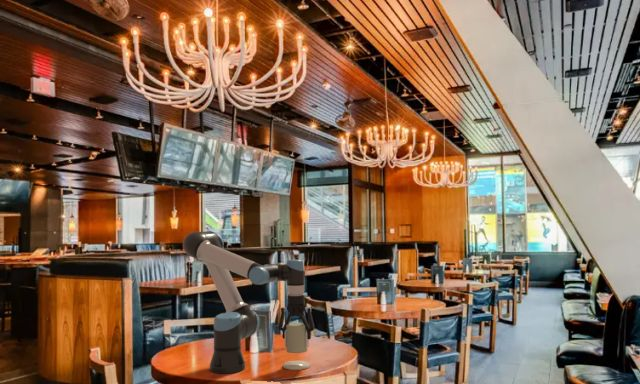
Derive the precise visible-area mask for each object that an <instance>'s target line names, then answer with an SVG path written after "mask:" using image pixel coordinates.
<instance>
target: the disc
mask: <svg viewBox="0 0 640 384" xmlns="http://www.w3.org/2000/svg"><path fill="white" fill-rule="evenodd" d="M282 368H283V369H285V370H288V371H289V370H290V371H302V369H303V370H307V369H309V368H311V362H309V361H306V360H289V361H285V362H284V363H282Z"/></svg>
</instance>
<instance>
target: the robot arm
mask: <svg viewBox="0 0 640 384" xmlns="http://www.w3.org/2000/svg"><path fill="white" fill-rule="evenodd" d="M224 244H225V243H224V239H223V237H222V236H221V235H220V234H219V233H217V232H215V231H211V230H206V231H191V232H189V233H188V234H187V235H186V236H185V237H184V239H183V242H182V248H183V250H184V251H183V252H185V253H186V255H187V256H189V257H191V258H194V259H196V260H198V261H199V262H200V263H201V264H203V265H205V266H206V268H207V270H208V273H209V275H210V278H211V279H212V282H213V283H214V284H213V285H214V286H215V288H216V291H217V293H218V295H219V297H220V299H221V301H222V303H223V306H224V308H225V312H221V313H219V314H216V316H215V317H214V319H213V326H212V327H213V354H212V355H211V356H212V357H211V360H210V362H209V371H210V372H211V373H215V374H233V373H239V372H242V371H244V370H245V369H246V362H245V358H244V356H243V352H242V340H244V339H246V338H250V337H252V336H253V335H255V334H256V332H258V330H259V328H260V317H259V315H258V314H257V313H256V311H254V310H252V309H251V308H250V305H249V304H248V303H246V302H244V300H243V299H242V296H241V294H240V292H239V290H238V288H237V285H236V283H235V281H234V278H233V276H232V274H231V272H232V273H235V274H236V275H239V276H242V277H244V278H246V279H248V280H250V282H251V283H252V284H254V285H255V286H256V285H259V286H260V285H264V284H268V283H273V282H286V284H287V285H286V286H287V288H286V289H287V290H286V291H287V306H282V307H280V312H281V313H280V318H279V321H278V326H277V327H278V329H277V330H278V331H281V332H282V339H283V340H284V347H285V348H287V331H286V325H288V324H289V323H291V320H292V318H293V317H299V318H300V319H301V323H303V324H304V325H305V328H306V330H307V332H305V339H306V348H307V349H308V348H309V347H310V340H311V338H312V336H311V335H312V333H311V332H313V331H314V330H315V329H316V327H315V322H314V318H313V314H312V313H313V312H312V309H313V308H312V307H311V306H310V307H306V304H305V302H306V301H305V267H304V261H303V260H302V259H288V260H287V261H286V263H285V264H283V263H282V264H280V263H276V264H275V263H268V264H264V265H263V264H260V263H257V262H255V261H253V260H250V259H248V258H245V257H243V256H241V255H238V254H236V253H234V252H231V251H229V250H226V249H224ZM286 312H288V316H287V319H286V321H285V316H286ZM304 312H306V313H307V318H308V319H306V316H305V313H304ZM284 321H285V323H284ZM308 322H309V323H308Z"/></svg>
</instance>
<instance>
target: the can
mask: <svg viewBox="0 0 640 384" xmlns="http://www.w3.org/2000/svg"><path fill="white" fill-rule="evenodd" d="M286 331H287V347H286V353H289V354H302V353H303V354H304V353H306V352H308V347H307V348H306V339H305V332H307V330H306V328H305V325H304V324H303V322H290V323H289V324H288V325H286Z"/></svg>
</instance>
